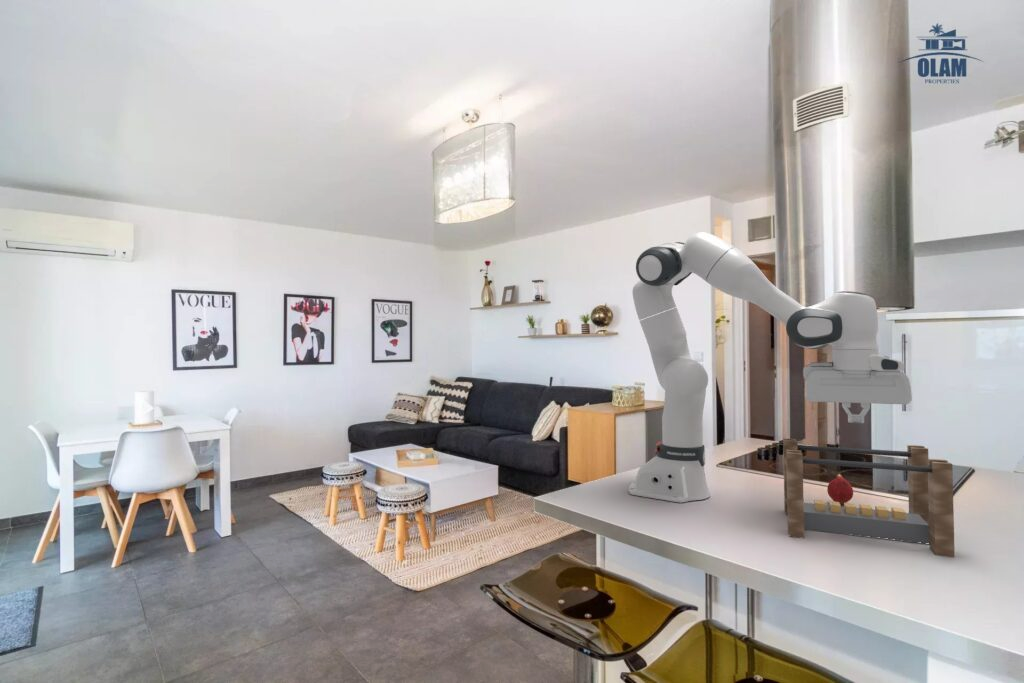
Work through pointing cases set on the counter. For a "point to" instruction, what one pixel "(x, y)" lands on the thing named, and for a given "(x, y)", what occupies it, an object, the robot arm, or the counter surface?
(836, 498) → the onion
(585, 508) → the counter surface
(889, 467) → the rod
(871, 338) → the robot arm
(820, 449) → the cord far
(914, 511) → the cord posts
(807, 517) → the breaker strip
